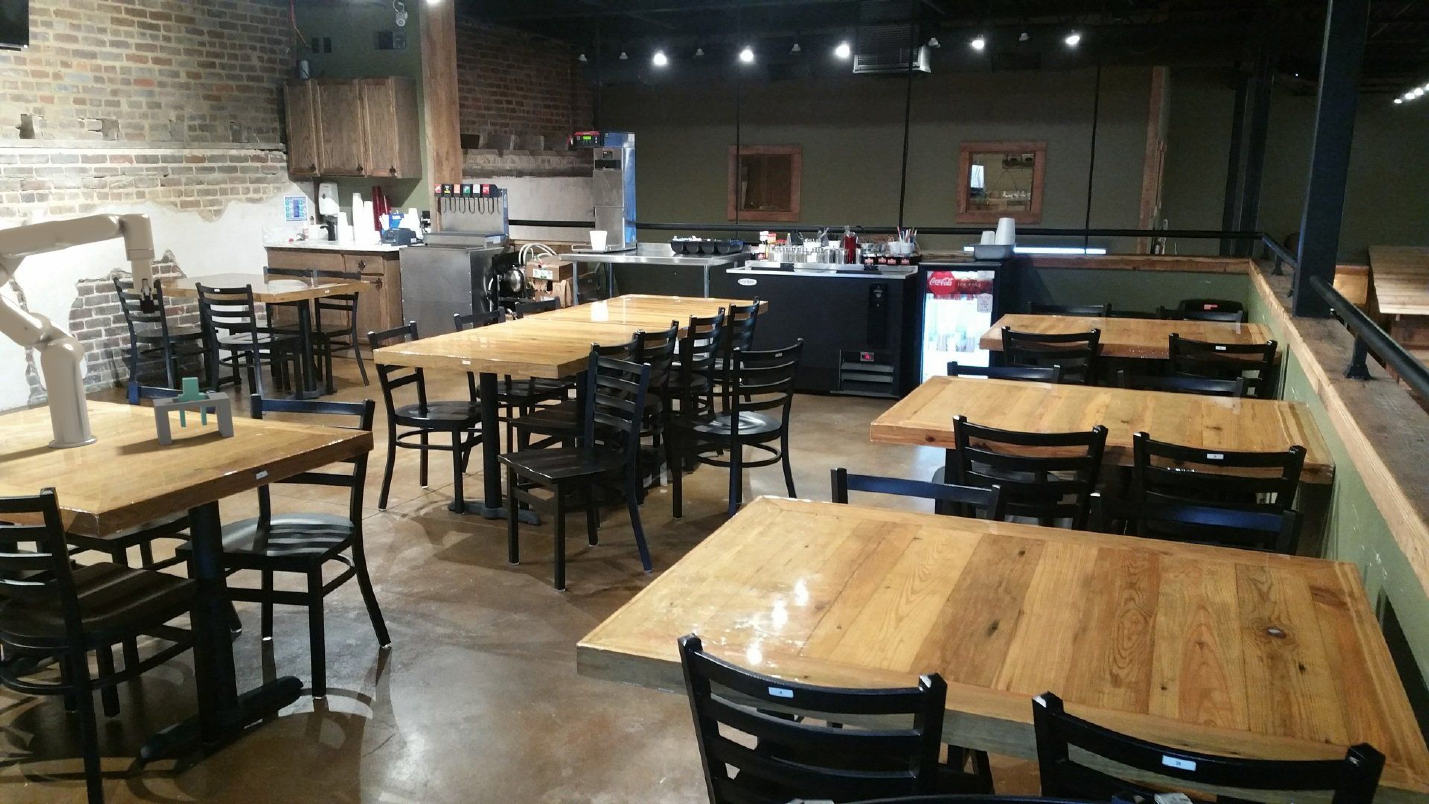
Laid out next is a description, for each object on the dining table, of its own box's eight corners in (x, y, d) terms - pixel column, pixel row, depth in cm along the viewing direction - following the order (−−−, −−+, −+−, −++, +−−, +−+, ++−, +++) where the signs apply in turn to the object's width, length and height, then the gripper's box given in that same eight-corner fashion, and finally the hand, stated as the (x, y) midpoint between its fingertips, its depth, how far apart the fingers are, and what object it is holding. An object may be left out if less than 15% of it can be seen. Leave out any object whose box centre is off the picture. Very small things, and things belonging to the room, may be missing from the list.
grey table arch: (157, 437, 315) (152, 399, 313) (228, 429, 325) (224, 391, 323) (160, 445, 305) (155, 406, 303) (234, 436, 315) (229, 398, 313)
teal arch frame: (180, 425, 314) (176, 378, 312) (205, 422, 318) (202, 376, 315) (181, 427, 311) (177, 380, 308) (207, 425, 314) (203, 378, 312)
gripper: (124, 254, 313) (132, 310, 317) (127, 257, 299) (135, 315, 302) (152, 253, 317) (159, 308, 321) (156, 256, 303) (164, 313, 306)
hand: (148, 312), depth 312 cm, fingers open, 9 cm apart
